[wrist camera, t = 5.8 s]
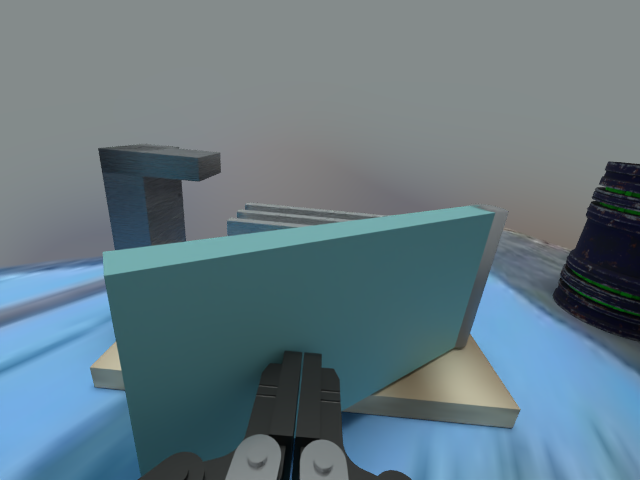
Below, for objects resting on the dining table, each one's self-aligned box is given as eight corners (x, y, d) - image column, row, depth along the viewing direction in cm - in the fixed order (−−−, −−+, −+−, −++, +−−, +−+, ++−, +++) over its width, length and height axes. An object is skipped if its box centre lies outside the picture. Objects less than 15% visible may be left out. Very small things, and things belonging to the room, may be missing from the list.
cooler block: (383, 278, 31) (405, 160, 27) (410, 357, 21) (453, 182, 16) (197, 260, 32) (190, 139, 27) (128, 329, 21) (98, 148, 17)
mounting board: (425, 282, 35) (427, 270, 34) (512, 428, 18) (520, 409, 17) (209, 261, 35) (208, 249, 34) (94, 387, 18) (89, 367, 18)
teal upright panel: (446, 325, 24) (481, 202, 21) (472, 341, 22) (515, 211, 19) (142, 472, 12) (102, 248, 9) (150, 529, 11) (104, 281, 7)
